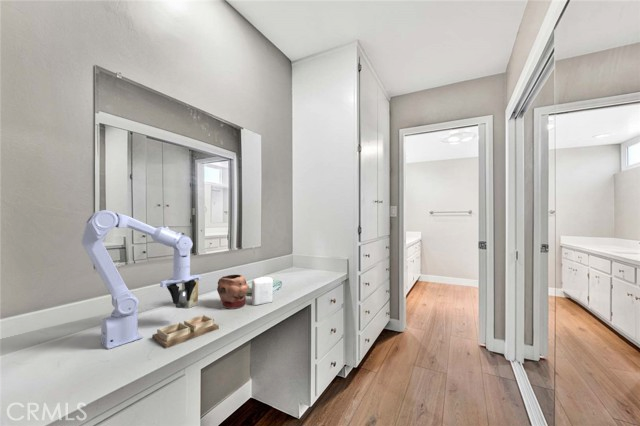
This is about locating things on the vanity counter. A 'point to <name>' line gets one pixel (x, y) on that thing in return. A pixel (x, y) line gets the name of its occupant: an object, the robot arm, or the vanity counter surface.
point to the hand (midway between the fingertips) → (181, 301)
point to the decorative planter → (232, 291)
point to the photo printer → (262, 290)
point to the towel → (276, 286)
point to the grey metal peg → (182, 298)
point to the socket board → (184, 331)
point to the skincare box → (192, 296)
